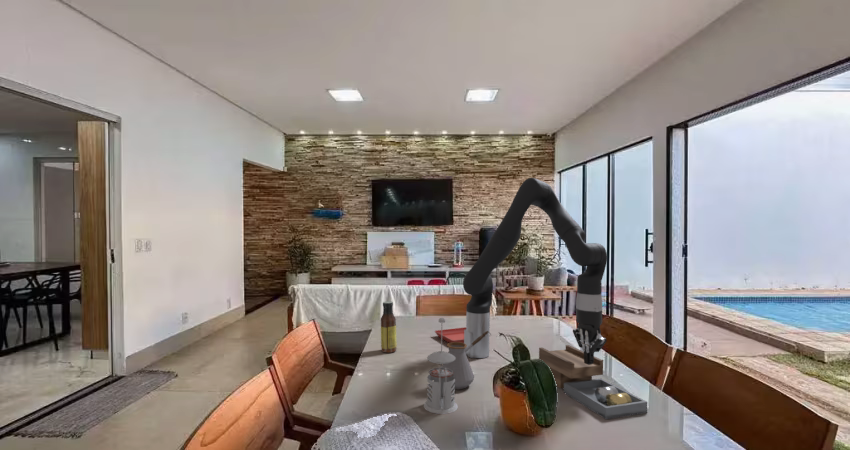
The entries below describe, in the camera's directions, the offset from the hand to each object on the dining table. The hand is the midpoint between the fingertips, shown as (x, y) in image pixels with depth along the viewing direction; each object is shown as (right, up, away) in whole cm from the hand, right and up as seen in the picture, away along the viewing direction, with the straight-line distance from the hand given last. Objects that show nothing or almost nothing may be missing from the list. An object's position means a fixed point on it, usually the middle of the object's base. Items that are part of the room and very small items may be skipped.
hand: (588, 363), depth 126 cm
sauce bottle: (-65, -8, +39) cm, 77 cm away
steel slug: (+3, -6, -9) cm, 11 cm away
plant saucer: (-35, -9, +58) cm, 68 cm away
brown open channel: (-3, -9, +8) cm, 13 cm away
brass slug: (+4, -6, -14) cm, 16 cm away
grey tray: (+2, -9, -6) cm, 11 cm away
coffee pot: (-37, -9, +9) cm, 39 cm away
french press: (-46, -9, -11) cm, 48 cm away
